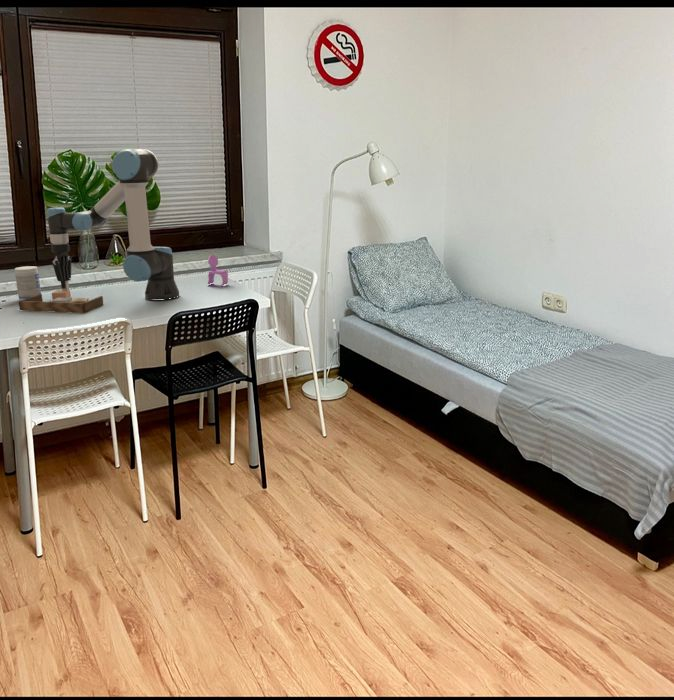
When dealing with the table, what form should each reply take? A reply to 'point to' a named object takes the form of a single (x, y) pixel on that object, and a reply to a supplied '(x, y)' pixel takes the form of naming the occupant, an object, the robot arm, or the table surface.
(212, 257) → the toy chair
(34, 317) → the table surface
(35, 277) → the supplement tub
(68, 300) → the grey tile
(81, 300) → the oak tile
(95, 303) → the frame
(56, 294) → the terracotta tile
